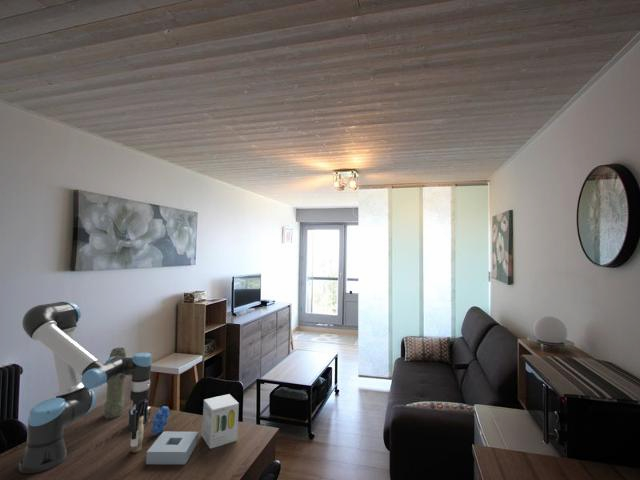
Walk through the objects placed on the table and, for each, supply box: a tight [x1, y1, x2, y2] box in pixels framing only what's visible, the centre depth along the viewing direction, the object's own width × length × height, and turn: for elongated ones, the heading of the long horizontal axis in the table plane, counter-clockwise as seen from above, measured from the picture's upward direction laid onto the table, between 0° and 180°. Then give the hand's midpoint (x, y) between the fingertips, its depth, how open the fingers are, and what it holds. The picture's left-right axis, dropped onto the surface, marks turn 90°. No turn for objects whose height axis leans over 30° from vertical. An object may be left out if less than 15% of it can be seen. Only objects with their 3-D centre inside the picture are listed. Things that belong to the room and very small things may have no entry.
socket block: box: [145, 430, 199, 465], centre depth 144 cm, size 16×16×5 cm
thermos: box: [103, 347, 127, 420], centre depth 176 cm, size 9×12×35 cm
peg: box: [130, 416, 144, 453], centre depth 145 cm, size 4×4×14 cm
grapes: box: [150, 405, 171, 436], centre depth 160 cm, size 12×7×12 cm, turn 169°
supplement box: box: [201, 393, 240, 450], centre depth 157 cm, size 13×13×18 cm
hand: (136, 442), depth 145 cm, fingers closed on peg, 4 cm apart
